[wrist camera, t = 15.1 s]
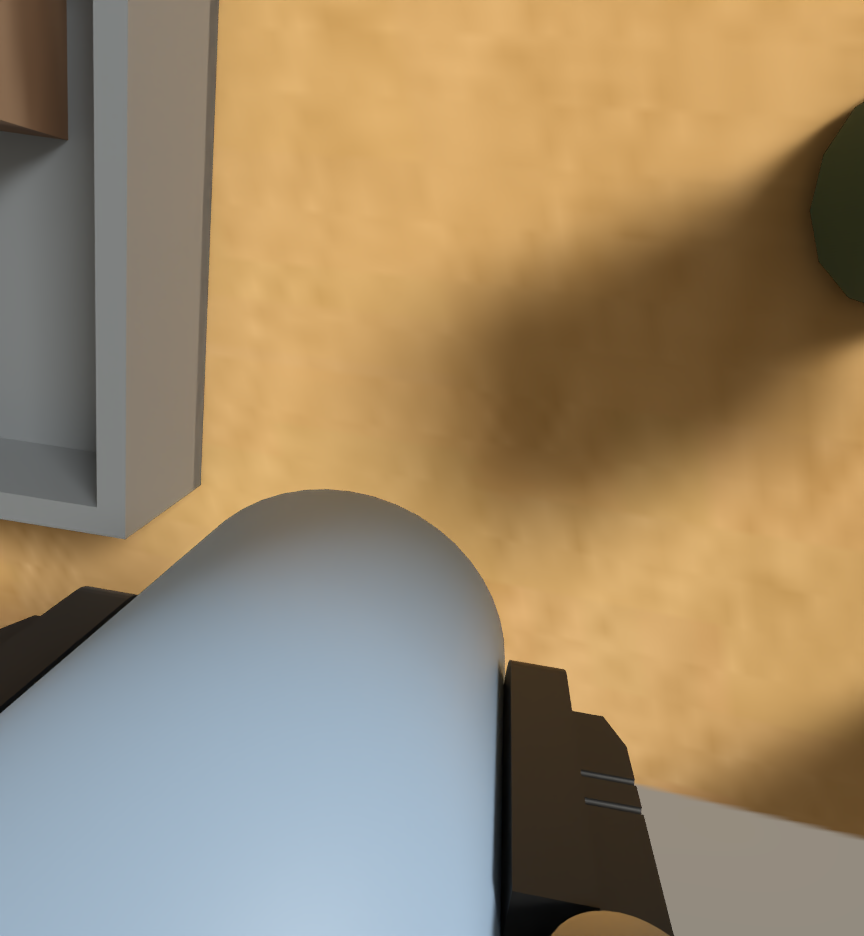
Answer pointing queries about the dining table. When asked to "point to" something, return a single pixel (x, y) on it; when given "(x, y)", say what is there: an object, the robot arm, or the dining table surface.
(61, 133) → the walnut cube
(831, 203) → the character mug
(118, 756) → the blue cylinder
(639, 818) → the robot arm
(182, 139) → the tote
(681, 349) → the dining table surface
